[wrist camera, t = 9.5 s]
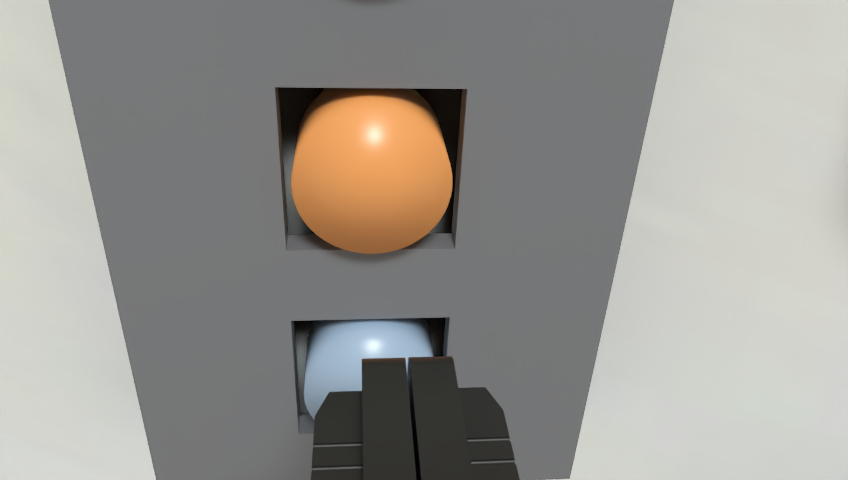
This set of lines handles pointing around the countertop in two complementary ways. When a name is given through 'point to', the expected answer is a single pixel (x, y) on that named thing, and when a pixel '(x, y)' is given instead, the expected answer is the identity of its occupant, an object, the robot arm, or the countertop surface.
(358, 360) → the blue button
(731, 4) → the countertop surface
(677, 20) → the countertop surface
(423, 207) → the orange button
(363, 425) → the robot arm
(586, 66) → the button box
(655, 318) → the countertop surface
